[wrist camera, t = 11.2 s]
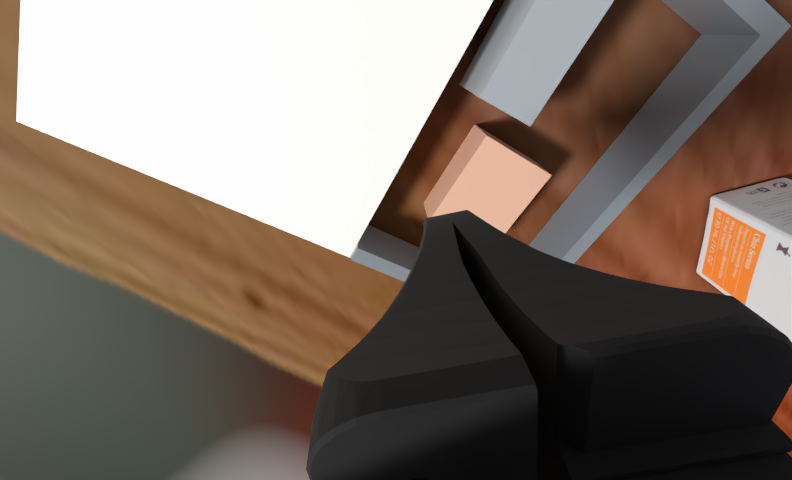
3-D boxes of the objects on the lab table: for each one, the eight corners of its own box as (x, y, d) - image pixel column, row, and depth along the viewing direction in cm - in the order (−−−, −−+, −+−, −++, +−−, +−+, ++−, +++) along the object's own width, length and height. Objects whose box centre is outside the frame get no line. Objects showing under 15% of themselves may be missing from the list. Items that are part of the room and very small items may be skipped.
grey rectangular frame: (726, 26, 17) (791, 26, 14) (500, 295, 24) (515, 327, 22) (550, -131, 14) (591, -168, 11) (353, 231, 21) (350, 260, 18)
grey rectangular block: (520, -30, 15) (565, 2, 16) (458, 84, 17) (500, 108, 18) (562, -47, 12) (617, -6, 13) (479, 97, 14) (530, 126, 15)
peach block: (486, 135, 16) (473, 123, 19) (428, 221, 19) (422, 201, 21) (551, 175, 18) (532, 159, 20) (490, 251, 20) (478, 229, 22)
